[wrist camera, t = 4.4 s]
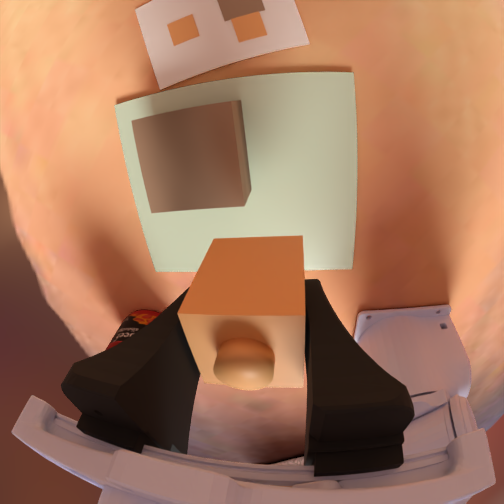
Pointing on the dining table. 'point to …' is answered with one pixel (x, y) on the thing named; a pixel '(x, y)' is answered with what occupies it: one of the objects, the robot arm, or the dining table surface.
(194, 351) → the brick
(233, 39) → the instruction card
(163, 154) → the base block
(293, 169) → the board
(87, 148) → the dining table surface
